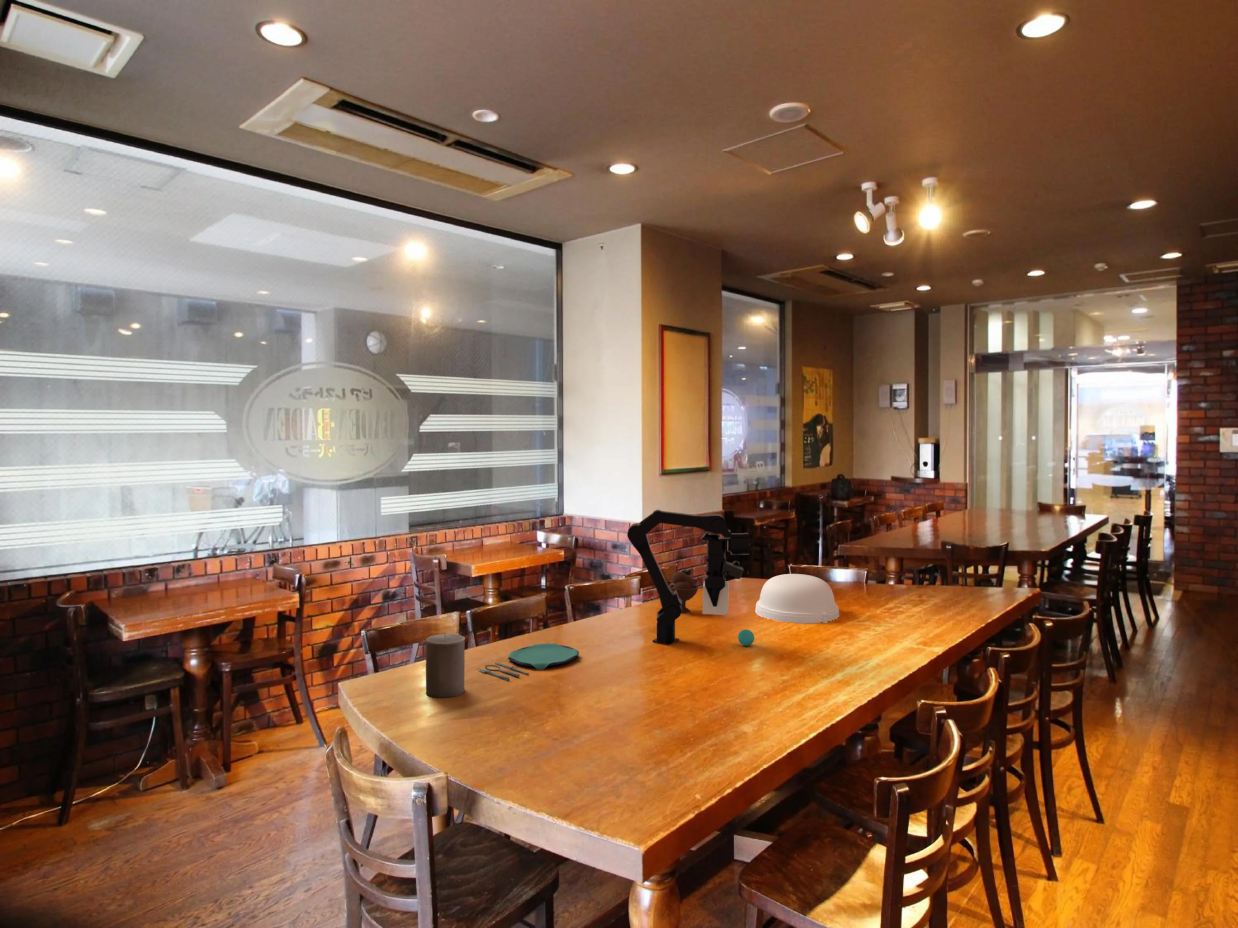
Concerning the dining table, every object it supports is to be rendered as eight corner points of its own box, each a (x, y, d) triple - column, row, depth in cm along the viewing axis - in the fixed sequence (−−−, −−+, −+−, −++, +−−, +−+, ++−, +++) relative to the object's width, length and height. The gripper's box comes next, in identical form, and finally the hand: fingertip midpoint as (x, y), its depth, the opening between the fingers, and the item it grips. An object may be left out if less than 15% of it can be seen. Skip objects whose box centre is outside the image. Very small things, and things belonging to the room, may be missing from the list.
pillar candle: (425, 699, 181) (426, 639, 180) (425, 686, 190) (425, 629, 189) (466, 696, 183) (466, 637, 183) (463, 683, 193) (463, 627, 192)
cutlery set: (592, 659, 214) (591, 651, 214) (510, 686, 193) (510, 677, 193) (547, 646, 228) (547, 639, 228) (466, 670, 207) (466, 662, 206)
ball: (750, 648, 224) (750, 632, 223) (735, 646, 226) (735, 630, 226) (756, 644, 228) (756, 628, 228) (741, 642, 230) (741, 626, 230)
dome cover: (737, 608, 277) (737, 571, 276) (800, 601, 290) (801, 565, 289) (791, 628, 248) (792, 587, 248) (859, 619, 261) (859, 580, 260)
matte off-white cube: (702, 613, 227) (703, 585, 227) (703, 608, 235) (704, 580, 234) (727, 614, 226) (728, 586, 226) (728, 609, 234) (728, 581, 233)
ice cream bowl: (688, 616, 264) (688, 575, 263) (662, 612, 270) (662, 571, 270) (703, 611, 272) (703, 571, 272) (678, 606, 279) (678, 567, 278)
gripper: (742, 560, 219) (741, 611, 220) (742, 550, 238) (741, 598, 238) (704, 558, 221) (704, 609, 222) (707, 549, 239) (706, 596, 240)
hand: (715, 603), depth 230 cm, fingers closed on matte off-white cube, 8 cm apart
